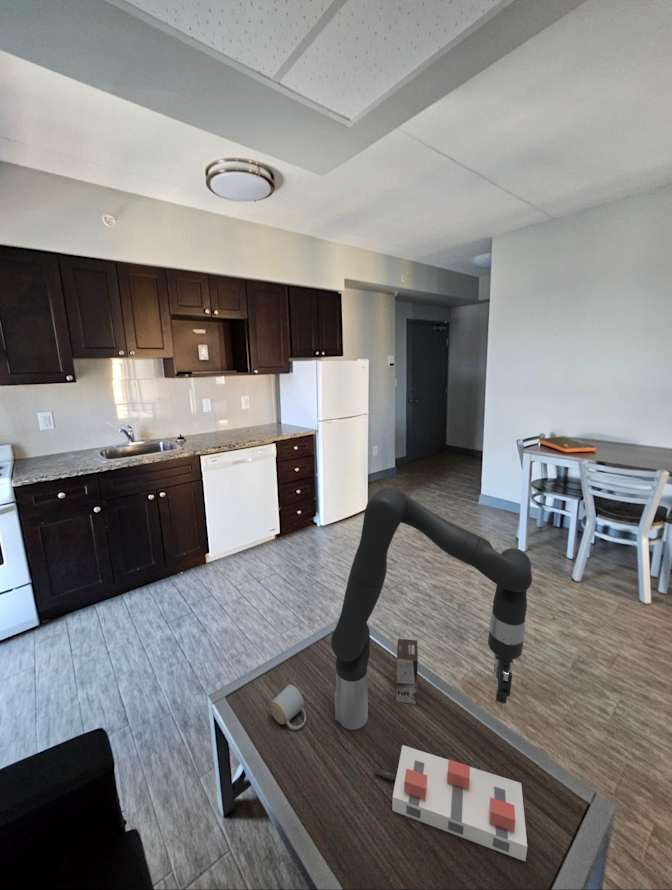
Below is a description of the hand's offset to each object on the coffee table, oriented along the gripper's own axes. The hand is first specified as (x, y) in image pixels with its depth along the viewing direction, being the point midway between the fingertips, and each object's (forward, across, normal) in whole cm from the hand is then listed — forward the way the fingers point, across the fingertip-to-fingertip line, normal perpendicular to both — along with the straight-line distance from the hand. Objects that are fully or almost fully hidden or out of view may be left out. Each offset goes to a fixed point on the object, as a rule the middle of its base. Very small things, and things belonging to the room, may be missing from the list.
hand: (499, 687), depth 95 cm
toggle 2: (+21, +9, -8) cm, 25 cm away
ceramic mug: (+28, +3, -57) cm, 63 cm away
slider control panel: (+27, +11, -11) cm, 31 cm away
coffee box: (+27, -17, -24) cm, 40 cm away
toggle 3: (+21, +15, +1) cm, 26 cm away
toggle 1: (+22, +15, -18) cm, 32 cm away
